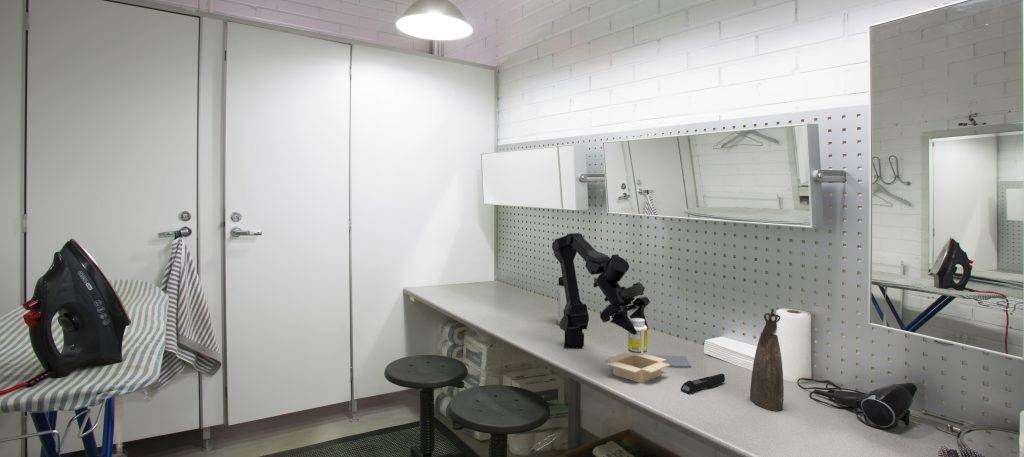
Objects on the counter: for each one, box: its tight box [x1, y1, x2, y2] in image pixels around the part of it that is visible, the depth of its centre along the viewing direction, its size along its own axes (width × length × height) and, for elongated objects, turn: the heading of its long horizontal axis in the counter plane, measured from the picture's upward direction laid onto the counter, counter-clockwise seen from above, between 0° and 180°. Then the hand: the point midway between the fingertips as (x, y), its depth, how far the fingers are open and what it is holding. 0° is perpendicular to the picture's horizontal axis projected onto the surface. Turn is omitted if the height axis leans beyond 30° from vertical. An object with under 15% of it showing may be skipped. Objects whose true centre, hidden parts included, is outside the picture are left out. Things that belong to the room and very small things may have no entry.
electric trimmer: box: [680, 373, 726, 395], centre depth 148 cm, size 4×16×3 cm, turn 119°
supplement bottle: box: [627, 318, 648, 355], centre depth 158 cm, size 6×6×10 cm
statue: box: [749, 308, 785, 412], centre depth 135 cm, size 9×8×25 cm
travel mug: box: [557, 276, 567, 326], centre depth 218 cm, size 6×7×20 cm
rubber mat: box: [653, 354, 692, 369], centre depth 170 cm, size 10×10×1 cm
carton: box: [606, 351, 670, 384], centre depth 159 cm, size 16×16×4 cm
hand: (641, 332), depth 157 cm, fingers closed on supplement bottle, 6 cm apart
